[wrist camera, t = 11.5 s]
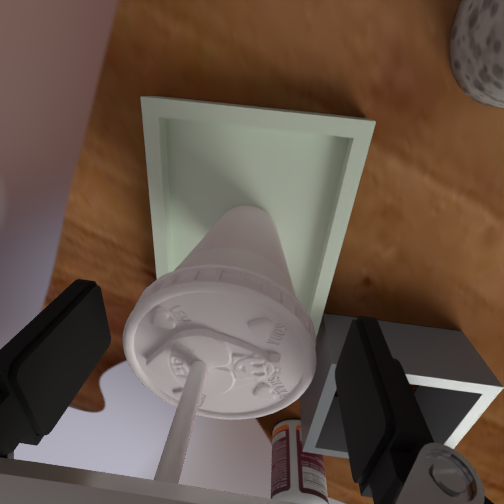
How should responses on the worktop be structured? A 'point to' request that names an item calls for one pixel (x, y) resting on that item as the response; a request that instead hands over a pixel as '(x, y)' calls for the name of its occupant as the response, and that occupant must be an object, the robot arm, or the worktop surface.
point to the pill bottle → (296, 467)
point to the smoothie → (222, 332)
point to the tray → (254, 180)
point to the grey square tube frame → (417, 372)
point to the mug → (479, 50)
